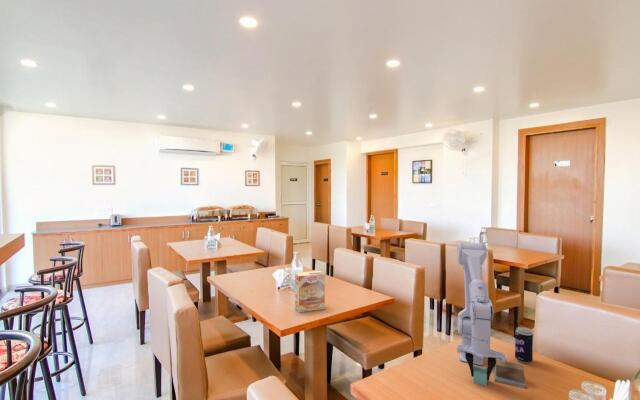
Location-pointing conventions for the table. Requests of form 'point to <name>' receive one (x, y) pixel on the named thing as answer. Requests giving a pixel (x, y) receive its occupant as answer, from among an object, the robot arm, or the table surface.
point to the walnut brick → (509, 370)
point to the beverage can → (524, 344)
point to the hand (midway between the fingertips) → (480, 376)
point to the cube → (480, 375)
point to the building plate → (509, 381)
